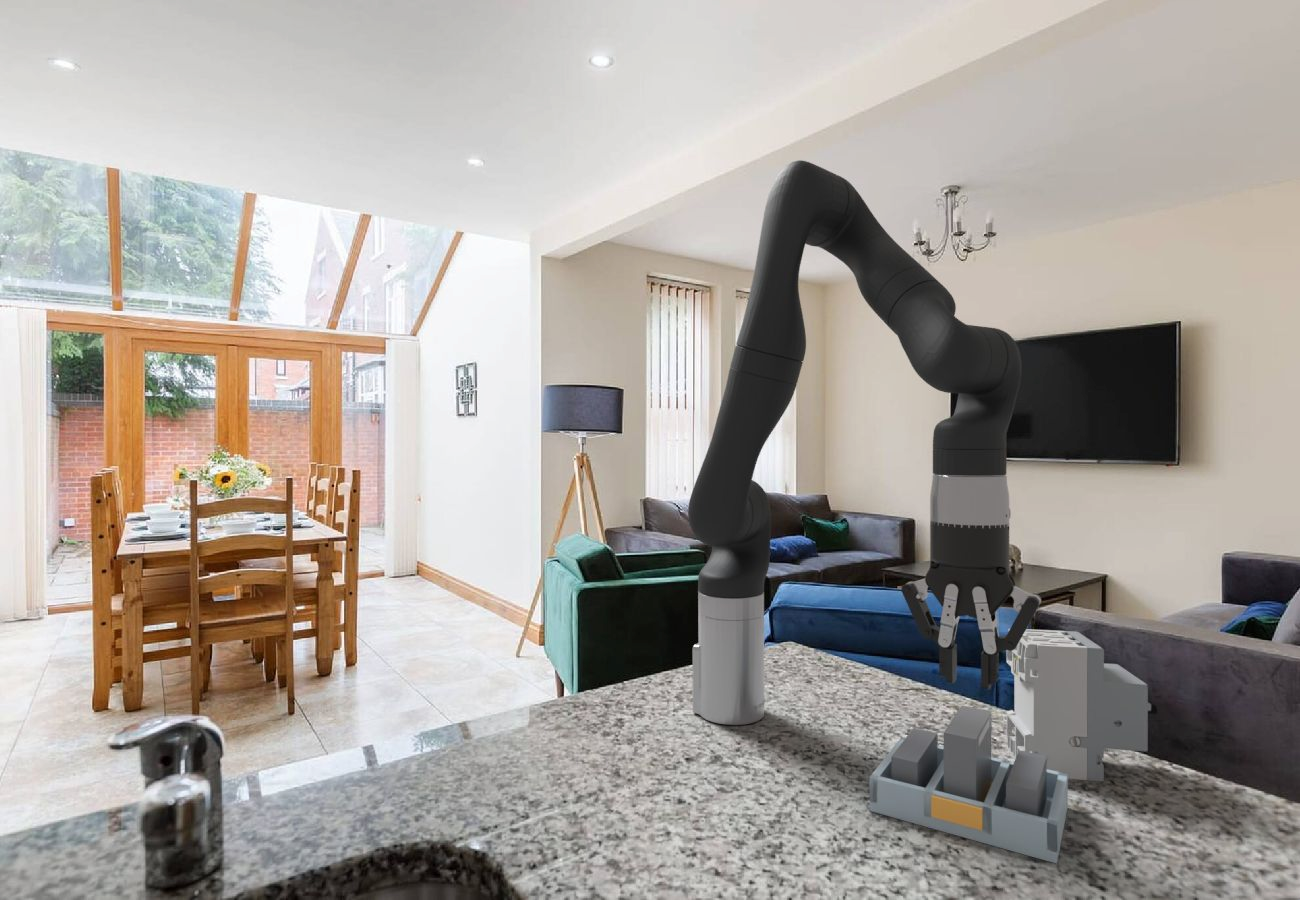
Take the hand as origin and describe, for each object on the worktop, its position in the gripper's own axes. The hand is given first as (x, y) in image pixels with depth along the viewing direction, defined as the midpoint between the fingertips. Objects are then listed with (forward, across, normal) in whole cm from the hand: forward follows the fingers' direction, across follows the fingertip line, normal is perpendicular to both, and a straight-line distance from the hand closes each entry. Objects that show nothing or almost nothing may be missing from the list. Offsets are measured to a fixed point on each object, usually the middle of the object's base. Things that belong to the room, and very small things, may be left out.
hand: (968, 683), depth 75 cm
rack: (+13, 0, 0) cm, 13 cm away
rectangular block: (+12, 0, 0) cm, 12 cm away
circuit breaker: (+13, +9, +18) cm, 24 cm away
